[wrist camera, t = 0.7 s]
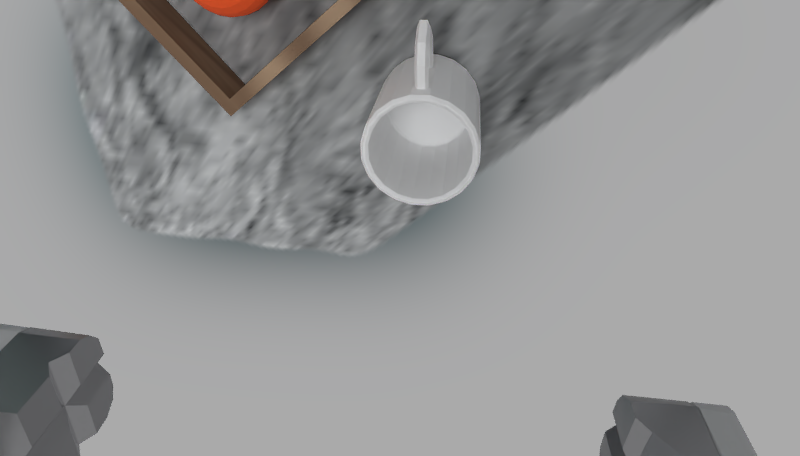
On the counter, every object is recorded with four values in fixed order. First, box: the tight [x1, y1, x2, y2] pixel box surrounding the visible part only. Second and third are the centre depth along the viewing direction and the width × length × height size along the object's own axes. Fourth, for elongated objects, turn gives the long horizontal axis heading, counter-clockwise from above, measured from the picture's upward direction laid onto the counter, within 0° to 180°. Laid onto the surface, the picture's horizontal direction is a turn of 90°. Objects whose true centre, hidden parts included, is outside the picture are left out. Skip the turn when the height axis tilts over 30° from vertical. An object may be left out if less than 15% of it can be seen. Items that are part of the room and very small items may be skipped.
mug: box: [360, 20, 481, 205], centre depth 41 cm, size 8×12×10 cm
